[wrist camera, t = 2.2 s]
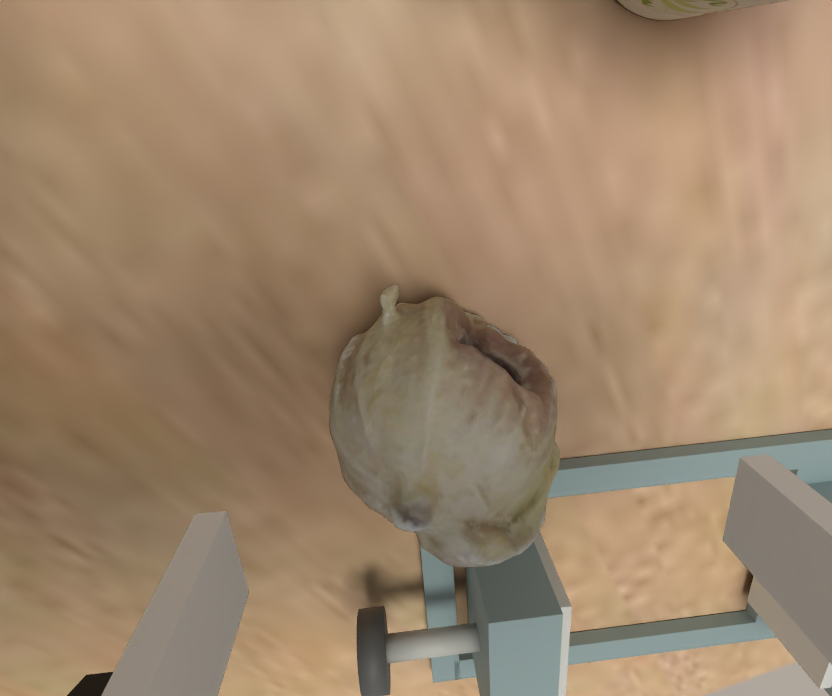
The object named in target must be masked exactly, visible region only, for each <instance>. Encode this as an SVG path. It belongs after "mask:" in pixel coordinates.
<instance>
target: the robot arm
mask: <svg viewBox="0 0 832 696" xmlns="http://www.w3.org/2000/svg"><path fill="white" fill-rule="evenodd" d="M723 541H724V542H725V544H726V545H727V546H728V547H729V548H730V549H731V550H732V552H733V553H734V554H735V555H736V556H737V557H738V558H739V560H740V561H741V562H742V563H743V564H744V565H745V566H746V568H747V569H748V570H749V571H750V572H751V573H752V574H753V576H754V577H755V578H756V579H757V580H758V581H759V582H760V584H761V585H762V586H763V587H764V588H765V589H766V590H767V592H768V593H769V594H770V595H771V596H772V597H773V598H774V600H775V601H776V602H777V603H778V604H779V605H780V606H781V607H782V609H783V610H784V611H785V612H786V613H787V614H788V615H789V617H790V618H791V619H792V620H793V621H794V622H795V623H796V625H797V626H798V627H799V628H800V629H801V630H802V631H803V633H804V634H805V635H806V636H807V637H808V638H809V639H810V641H811V642H812V643H813V644H814V645H815V646H816V647H817V649H818V650H819V651H820V652H821V653H822V654H823V655H824V657H825V658H826V659H827V660H828V661H829V662H830V663H831V665H832V503H830V502H829V501H828V500H827V499H825V498H824V497H823V496H822V495H820V494H819V493H818V492H816V491H815V490H814V489H813V488H811V487H810V486H809V485H807V484H806V483H805V482H804V481H802V480H801V479H800V478H798V477H797V476H796V475H795V474H793V473H792V472H791V471H790V470H788V469H787V468H786V467H784V466H783V465H782V464H781V463H779V462H778V461H777V460H775V459H774V458H773V457H772V456H770V455H769V454H767V455H757V456H748V457H740V459H739V464H738V469H737V473H736V478H735V483H734V488H733V492H732V497H731V502H730V507H729V512H728V516H727V521H726V526H725V531H724V535H723ZM248 594H249V590H248V586H247V583H246V579H245V575H244V572H243V568H242V565H241V561H240V558H239V554H238V550H237V547H236V543H235V540H234V536H233V533H232V529H231V526H230V522H229V518H228V515H227V511H219V512H209V513H200V514H195V516H194V517H193V519H192V521H191V523H190V525H189V527H188V529H187V531H186V533H185V535H184V537H183V539H182V541H181V543H180V545H179V546H178V548H177V550H176V552H175V554H174V556H173V558H172V560H171V562H170V564H169V566H168V568H167V570H166V572H165V574H164V575H163V577H162V579H161V581H160V583H159V585H158V587H157V589H156V591H155V593H154V595H153V597H152V599H151V601H150V602H149V604H148V606H147V608H146V610H145V612H144V614H143V616H142V618H141V620H140V622H139V624H138V626H137V628H136V630H135V631H134V633H133V635H132V637H131V639H130V641H129V643H128V645H127V647H126V649H125V651H124V653H123V655H122V657H121V659H120V660H119V662H118V664H117V666H116V668H115V670H114V672H108V673H99V674H90V675H86V676H85V677H84V678H83V679H82V680H81V681H80V682H79V683H78V684H77V685H76V687H75V688H74V689H73V690H72V691H71V692H70V693H69V694H68V695H67V696H218V693H219V690H220V686H221V683H222V680H223V676H224V673H225V670H226V666H227V663H228V660H229V657H230V653H231V650H232V647H233V643H234V640H235V637H236V633H237V630H238V627H239V624H240V620H241V617H242V614H243V610H244V607H245V604H246V601H247V597H248Z"/></svg>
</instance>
